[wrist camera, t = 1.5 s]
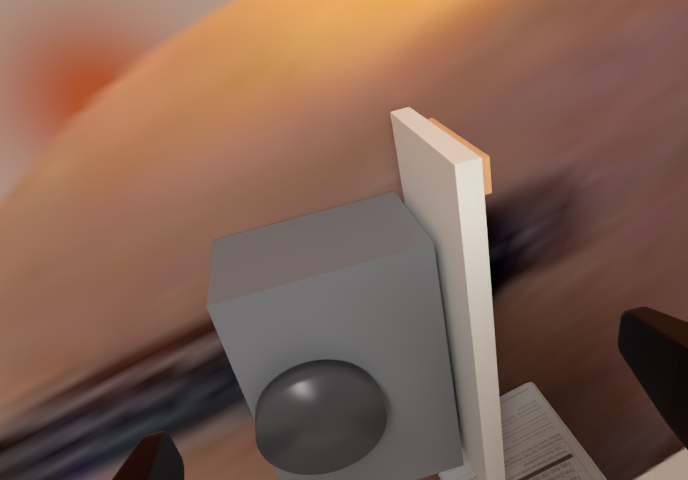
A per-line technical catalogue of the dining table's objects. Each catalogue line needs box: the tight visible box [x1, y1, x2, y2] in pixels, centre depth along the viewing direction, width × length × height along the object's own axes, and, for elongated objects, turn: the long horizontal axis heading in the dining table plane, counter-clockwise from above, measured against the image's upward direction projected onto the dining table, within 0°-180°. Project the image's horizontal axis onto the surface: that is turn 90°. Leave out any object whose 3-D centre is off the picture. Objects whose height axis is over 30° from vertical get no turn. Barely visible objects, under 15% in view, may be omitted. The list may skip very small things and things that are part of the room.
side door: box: [390, 107, 505, 480], centre depth 20 cm, size 1×16×7 cm, turn 12°
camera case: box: [206, 191, 464, 480], centre depth 21 cm, size 8×12×6 cm, turn 12°
